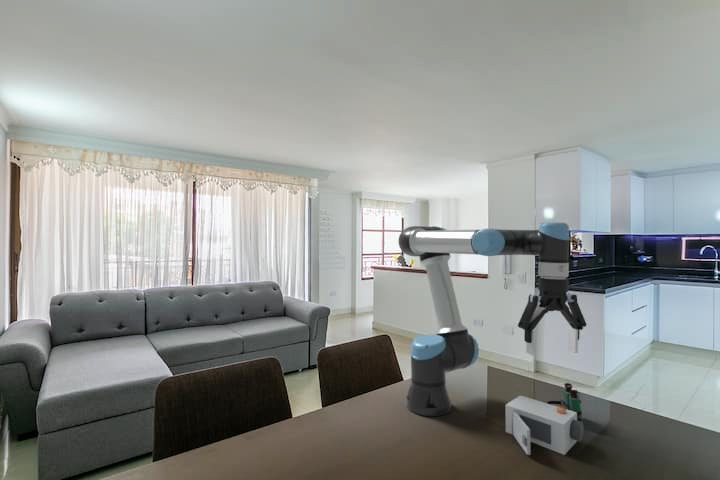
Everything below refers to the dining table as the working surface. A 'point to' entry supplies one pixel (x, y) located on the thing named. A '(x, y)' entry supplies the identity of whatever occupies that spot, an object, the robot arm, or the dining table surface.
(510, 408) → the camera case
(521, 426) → the side door
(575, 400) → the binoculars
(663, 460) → the dining table surface
